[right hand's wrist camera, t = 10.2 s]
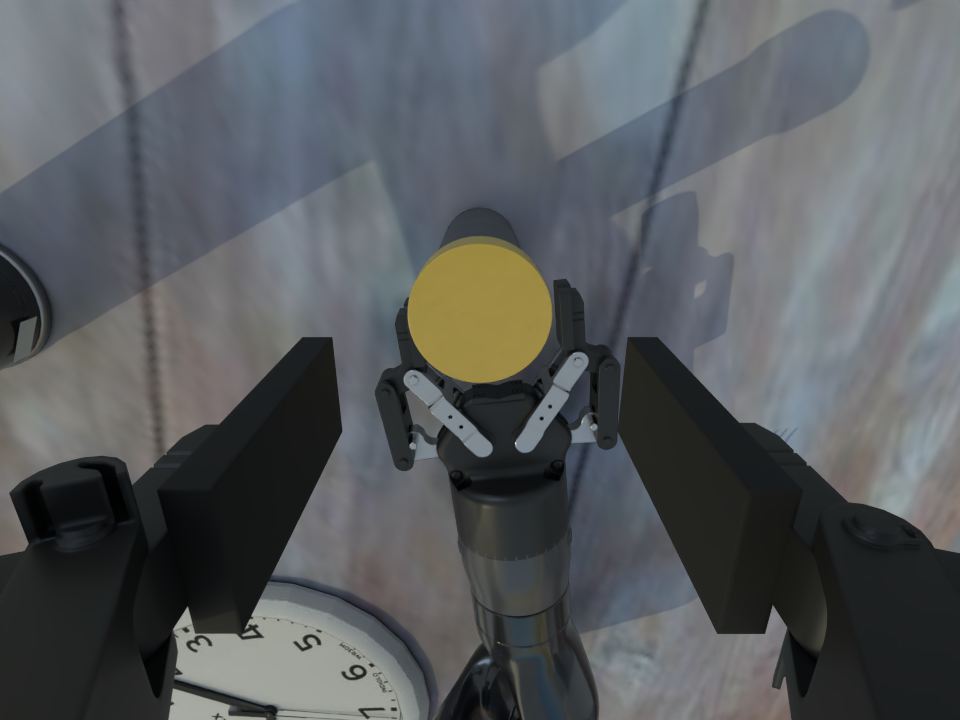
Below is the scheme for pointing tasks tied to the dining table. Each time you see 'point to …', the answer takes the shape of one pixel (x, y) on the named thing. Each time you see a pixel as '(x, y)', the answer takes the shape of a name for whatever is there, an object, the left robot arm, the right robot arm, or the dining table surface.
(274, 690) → the wall clock
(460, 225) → the dark grey cylinder
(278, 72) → the dining table surface
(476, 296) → the lid
